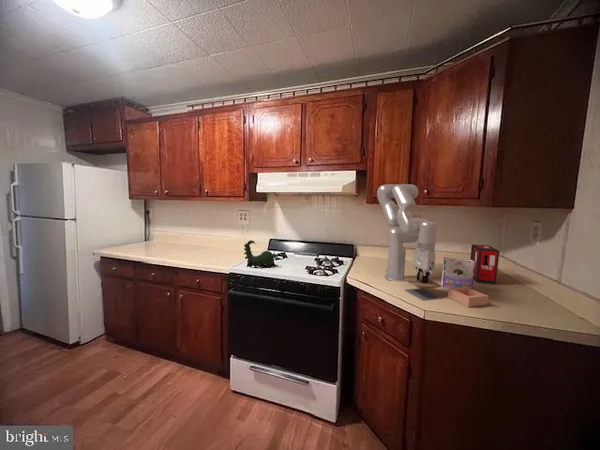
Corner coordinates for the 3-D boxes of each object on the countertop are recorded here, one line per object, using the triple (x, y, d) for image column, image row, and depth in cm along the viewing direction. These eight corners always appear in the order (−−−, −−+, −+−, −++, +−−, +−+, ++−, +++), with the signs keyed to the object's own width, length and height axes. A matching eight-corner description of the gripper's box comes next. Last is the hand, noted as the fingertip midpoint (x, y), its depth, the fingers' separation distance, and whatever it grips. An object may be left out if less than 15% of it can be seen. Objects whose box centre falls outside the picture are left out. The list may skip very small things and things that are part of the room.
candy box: (469, 288, 132) (472, 259, 130) (472, 292, 127) (475, 261, 125) (440, 284, 138) (443, 256, 136) (442, 288, 132) (444, 258, 131)
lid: (403, 279, 127) (405, 268, 126) (423, 277, 130) (424, 267, 129) (420, 289, 116) (421, 277, 115) (440, 287, 119) (442, 275, 118)
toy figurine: (243, 267, 171) (274, 268, 162) (240, 241, 170) (272, 241, 161) (250, 264, 180) (280, 265, 171) (248, 239, 179) (278, 238, 170)
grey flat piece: (403, 290, 127) (403, 289, 127) (422, 289, 130) (422, 288, 130) (423, 301, 114) (423, 300, 114) (444, 299, 117) (444, 298, 117)
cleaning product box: (495, 284, 139) (499, 250, 137) (477, 282, 142) (480, 249, 140) (485, 276, 154) (488, 245, 152) (469, 274, 158) (471, 244, 155)
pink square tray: (447, 298, 118) (448, 288, 118) (465, 296, 121) (466, 287, 120) (468, 308, 107) (469, 297, 107) (487, 306, 110) (488, 295, 110)
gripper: (408, 242, 127) (405, 275, 130) (432, 251, 111) (427, 288, 114) (420, 242, 129) (416, 274, 132) (445, 250, 113) (440, 287, 116)
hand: (422, 281), depth 123 cm, fingers closed on lid, 2 cm apart
